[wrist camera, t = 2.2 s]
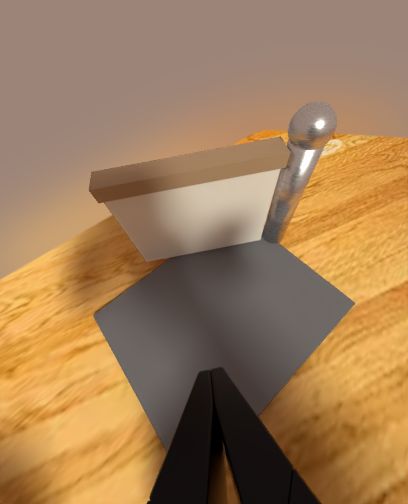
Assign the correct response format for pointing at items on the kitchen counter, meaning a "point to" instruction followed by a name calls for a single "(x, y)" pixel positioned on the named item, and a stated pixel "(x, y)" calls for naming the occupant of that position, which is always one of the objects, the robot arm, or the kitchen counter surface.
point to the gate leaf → (194, 198)
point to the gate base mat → (219, 325)
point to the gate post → (298, 164)
